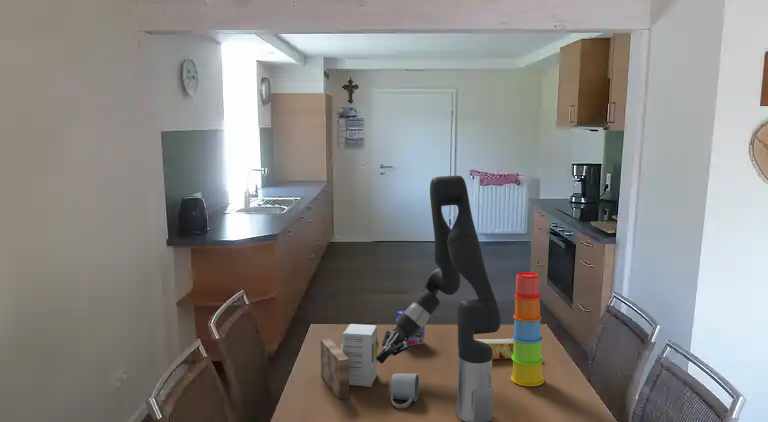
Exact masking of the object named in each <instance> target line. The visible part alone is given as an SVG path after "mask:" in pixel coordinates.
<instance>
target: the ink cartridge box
mask: <svg viewBox="0 0 768 422" xmlns="http://www.w3.org/2000/svg"><path fill="white" fill-rule="evenodd" d="M406 310H407V309H405V310H398V311H396V318H395V319H396V321H395V324H396V322H397V320H398V319H399V318H400V317H401V316H402V314H403V313H404V312H405V311H406ZM425 326H426V323H425V324H424V326H423V327H422V328H421V329H420V330H419V332H418V333H417V334H416V335H415V337H414V338H412V337H410V338H409V340H408V342H406V346H407V347H410V346H416V345H423V344H425ZM396 327H397V324H396ZM396 327H395V328H396Z"/></svg>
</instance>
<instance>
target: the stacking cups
mask: <svg viewBox="0 0 768 422" xmlns="http://www.w3.org/2000/svg"><path fill="white" fill-rule="evenodd" d="M515 277H516V278H515V293H514V296H513V297H514V301H515V303H514V314H513V315H512V316H513V319H514V323H513V324H514V325H513V326H514V327H513V331H514V332H513V335H512V337H511V339H514V354H513V355H512V357H511V358H512V359H511V360H512V364H513V365H512V366H513V367H512V374H511V376H510V380H511V381H512V382H513V383H514V384H515V385H518V386H522V387H539V386H540V385H543V384H544V383H545V378H544V377H543V366H542V365H543V361H544V357H543V356H542V340H543V336H541V319H543V318H542V315H541V300H540V299H541V297H542V295H540V276H539V274H538V273H535V272H530V271H528V272H527V271H522V272H518V273H517V274H516V276H515Z"/></svg>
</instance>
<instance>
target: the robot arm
mask: <svg viewBox="0 0 768 422" xmlns="http://www.w3.org/2000/svg"><path fill="white" fill-rule="evenodd" d="M429 199H430V208H431V216H432V217H431V218H432V219H431V220H432V227H433V234H434V262H435V265H437V266H438V268H436V269H435V270H433V271H432V272H431V273H430V274H429V276H428V278H427V280H426V282H425V285H424V286H423V288H422V291H421V293H420V294H419V295H418V297H417V298H416V299H415V300H414V301H413V302H412V303H411V304H410V305H409V306H408V307H407V308H406V309H405V310H406V311H405V312H404V313H403V314H402V316H401V317H400V318H399V319H398V320H397V322H396V321H395V324H397V327H395V328H394V329H392V331H389V330H386V331H385V334H384V337H383V340H382V343H381V346H382V350H381V352H380V353H379V354H377V358H376V359H377V362H379V364H383V363H385V361H386V360H388V358H389V357H390V356H394V357H395V356H397V355H398V354H401V353H403V352H404V351H407V350H408V347H409V346H406V342H408V340H409V338H410V337H412V338H414V337H415V335H416V334H417V333H418V332H419V330H420V329H421V328H422V327H423V326H424V324H425V325H426V323H427V322H428V321H429V319H430V317H431V315H433V313H434V312H435V311H436V310H437V308H438V307H439V305H440V302H441V301H440V300H439V298H438V296H437V295H438V292H439V291H440V292H442V293H444V294H445V295H448V296H452V295H455V294H456V293H457V292H458V291H459V289H460V286H461V276H462V277H463V278H464V279H465V280H466V281H467V282H468V283H469V284H470V285H471V287H472V288H473V290H474V291H475V294H476V296H477V299H467V300H461V301H460V302H459V303H458V306H457V307H458V308H457V313H456V314H457V315H456V317H457V318H456V319H457V347H458V348H457V349H458V357H457V388H456V389H457V391H456V392H457V394H456V396H457V397H456V398H457V400H456V416H457V417H458V418H459V419H460V420H461V421H463V422H492V421H493V403H494V402H493V399H494V388H493V386H492V381H493V380H492V378H493V377H492V374H493V373H492V371H493V360H492V348H491V347H490V346H489V345H488V344H486V343H484V342H481V341H477V340H475V339H476V338H474V335H482V334H494V333H496V332H498V331H499V330H500V328H501V314H500V309H499V305H498V303H497V300H496V296H495V294H494V292H493V289H492V286H491V283H490V280H489V276H488V273H487V269H486V265H485V262H484V256H483V252H482V248H481V245H480V241H479V237H478V234H477V233H478V232H477V231H476V227H475V223H474V220H473V216H472V210H471V204H470V200H469V193H468V187H467V184H466V181H465V178H464V177H462V176H461V175H442V176H435V177H432V179H431V181H430V184H429ZM445 206H457V211H458V212H457V215H456V219H455V221H454V223H453V225H452V228H450V226H449V225H448V223H447V221H446V220H445V217H444V215H443V209H442V207H445ZM460 275H461V276H460Z"/></svg>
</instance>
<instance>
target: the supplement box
mask: <svg viewBox="0 0 768 422" xmlns="http://www.w3.org/2000/svg"><path fill="white" fill-rule="evenodd" d="M342 342H343V353H344V354H345V355H346V356H347V357H348V358H349V386H358V387H368V388H372V386H373V384H374V381H375V379H376V378H377V375H378V373H377V372H378V368H377V367H378V365H377V364H378V360H377V359H376V358H377V357H378V326H377V325H375V324H373V325H372V324H359V323H358V324H357V323H350V324H348V326H347V327H346V329H345V331H343V333H342Z"/></svg>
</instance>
